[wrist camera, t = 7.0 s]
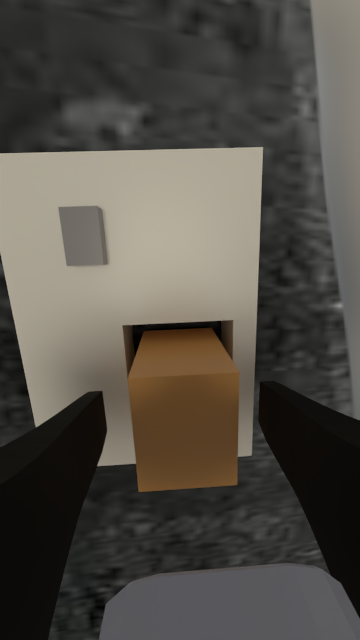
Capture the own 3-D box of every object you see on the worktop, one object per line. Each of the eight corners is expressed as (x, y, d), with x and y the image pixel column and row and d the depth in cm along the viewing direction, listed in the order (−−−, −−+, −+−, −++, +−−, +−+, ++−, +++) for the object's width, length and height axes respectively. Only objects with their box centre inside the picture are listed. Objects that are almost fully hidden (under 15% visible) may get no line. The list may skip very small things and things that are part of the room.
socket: (237, 423, 18) (256, 466, 14) (65, 433, 17) (37, 481, 13) (242, 170, 14) (270, 138, 10) (21, 177, 13) (-35, 145, 10)
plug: (209, 394, 17) (237, 485, 10) (150, 397, 17) (138, 492, 10) (208, 323, 16) (239, 372, 9) (145, 326, 16) (127, 378, 9)
